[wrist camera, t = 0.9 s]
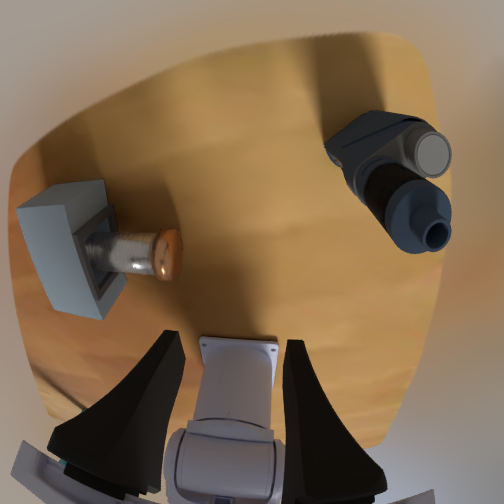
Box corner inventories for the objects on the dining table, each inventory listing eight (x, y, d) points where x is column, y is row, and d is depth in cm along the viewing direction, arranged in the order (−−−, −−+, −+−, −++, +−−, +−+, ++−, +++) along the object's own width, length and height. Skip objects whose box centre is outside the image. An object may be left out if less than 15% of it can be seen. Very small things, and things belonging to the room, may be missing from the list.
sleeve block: (80, 277, 24) (54, 309, 19) (54, 184, 19) (15, 208, 14) (131, 282, 24) (108, 321, 19) (108, 178, 18) (68, 204, 14)
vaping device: (315, 147, 16) (384, 228, 6) (374, 103, 14) (507, 127, 4) (338, 176, 17) (417, 288, 7) (394, 134, 15) (524, 196, 5)
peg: (110, 258, 21) (90, 282, 18) (101, 220, 19) (76, 242, 16) (184, 262, 21) (171, 291, 18) (179, 220, 19) (162, 245, 16)
